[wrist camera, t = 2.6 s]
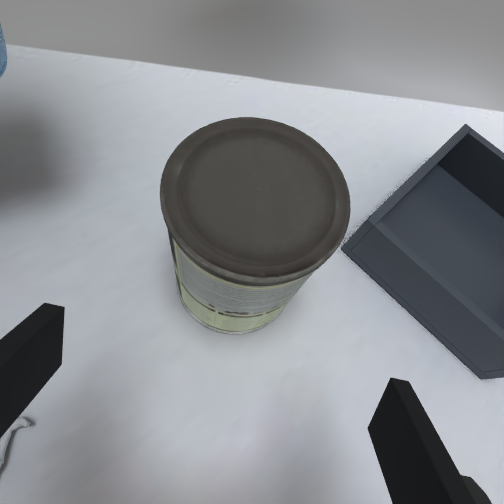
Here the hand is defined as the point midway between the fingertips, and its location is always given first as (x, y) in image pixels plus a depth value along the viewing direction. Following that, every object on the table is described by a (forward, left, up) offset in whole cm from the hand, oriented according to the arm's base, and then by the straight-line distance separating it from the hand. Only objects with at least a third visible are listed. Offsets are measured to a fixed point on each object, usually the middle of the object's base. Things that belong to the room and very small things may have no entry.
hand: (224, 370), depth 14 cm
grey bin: (+8, +26, -15) cm, 31 cm away
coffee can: (-5, +8, -15) cm, 18 cm away
